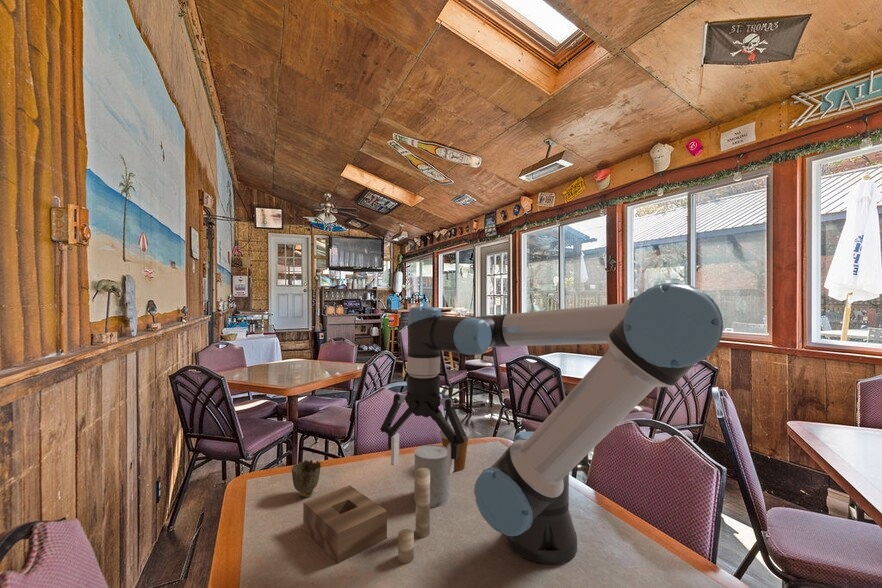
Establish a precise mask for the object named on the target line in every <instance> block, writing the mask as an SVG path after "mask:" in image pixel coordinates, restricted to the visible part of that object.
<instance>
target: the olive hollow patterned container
mask: <svg viewBox="0 0 882 588" xmlns="http://www.w3.org/2000/svg"><path fill="white" fill-rule="evenodd" d="M321 465H322V463H321V462H319V460H316V462H313V459H310V461H309V460H305V459H304V460H303V461H299V462H298V463H295V464H293V466H292V467H291V475H292V477H291V478H292V483H293V487H294V489H295V490H296V491H298V496H299V497H300V498H309V497H311V496H312V495H313V493H314V489H316V487H317V486H318V483H319V481H320V474H321V473H320V472H321Z"/></svg>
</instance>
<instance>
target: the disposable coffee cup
mask: <svg viewBox="0 0 882 588" xmlns="http://www.w3.org/2000/svg"><path fill="white" fill-rule="evenodd" d="M449 425H450V426H451V428H452V429H453V427H452V425H451V423H449ZM462 427H463V429H464V431H465V434H466V436H467V439H466V440H465V442H464V443H463V444H458V457H457V458H456V460H454V471H453V472H458V471H462V470H464V469H465V467H466V458H467V451H468V450H467V449H468V444H469V443H468V442H469V437H470V435H471V433H470V432H471V431H470V429H469V427H468V426H466V425H464V424H462ZM453 431H454V429H453ZM439 434H440V437H441V443H442V444H441V446H444V447H446V448H447V445H448V444H449V443H450V442H449V440H448V439H447V438H446V436H445V435H444V433H443V432H442V430H441V429H440V431H439Z"/></svg>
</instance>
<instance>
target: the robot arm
mask: <svg viewBox="0 0 882 588" xmlns="http://www.w3.org/2000/svg"><path fill="white" fill-rule="evenodd" d="M723 320H724V319H723V315H722V312H721V310H720V308H719V306H718V304H717V303H716V302H715V301H714V299H713V298H712V297H710V295H708V294H707V293H705V292H704V290H703V291H702V290H701V289H698V288H696V287H695V286H693V285H689V284H687V283H686V284H685V283H679V282H669V283H667V282H666V283H661V284H657V285H653V286H652V287H650V288H647V289H645V291H642V292H641V293H639V294H638V295H637V296H633V297H629V298H628V299H627V300H626V301H625V302H624V303H616V304H615V303H614V304H603V305H594V306H593V305H592V306H581V307H570V308H569V307H568V308H561V309H560V308H559V309H551V310H550V309H549V310H539V311H538V310H537V311H527V312H518V313H515V312H514V313H508V314H505V313H504V314H492V315H491V314H490V315H484V316H467V317H466V316H465V317H455V316H449V317H448V316H443V315H442V309H441V308H440V307H437V306H436V307H435V306H414V307H413V306H412V307H411V308H410V309H409V311H408V317H407V358H406V359H407V360H406V362H407V366H406V373H408V375H407V376H406V394H405V393H403V392H402V391H399V392H397V393H395V394H394V395H393V400H392V405H391V407H390V408H389V410H388V413H387V414H386V417H385V419H384V421H383V423H382V424H381V427H380V428H379V429H380V432H381V433H385V434H386V435H387V449H388V450H390V466H396V464H398V463H399V462H400V433H398V430H399V429H400V428H401V427H402V426H403V425H404V424H405V423H406V421H407V420H408V419H409V418H410V417H411V415H414V416H415V417H424V418H429V417H430V418H431V419H432V421H434V422H435V423H436V425H437V426H438V428H439V429H440V431H441V430H442V432H443V433H444V435H445V436H446V438H447V439H448V440H449V442H450V443H449V444H448V445H447V475H449V476H451V475H452V474H453V472H455V471H454V460H456V458H457V457H458V444H463V443H464V442H465V440H466V439H467V436H466V434H465V431H464V429H463V427H462V425H463V424H462V423H461V420H460V418H459V416H458V414H457V413H458V412H457V411H456V409H455V405H454V404H455V403H454V398H453V397H452V396H448V398H442V397H441V395H440V393H441V391H440V390H441V389H440V388H441V376H440V375H439V374H440V373H441V352H442V351H443V352H448V353H449V352H450V353H457V354H458V353H459V354H464V355H467V356H470V355H475V356H476V355H478V356H480V355H483V354H485V353H486V352H487V350H489V349H490V348H506V347H529V346H532V347H533V346H557V345H558V346H560V345H562V346H565V345H568V346H569V345H591V344H592V345H593V344H594V345H595V344H597V345H599V344H608V350H607V351H606V352H605V353H604V354H603V355H602V357H600V359H599V360H598V361H597V362H596V363H595V364H594V365H593V366H592V368H590V370H588V372H587V373H586V374H585V375H584V376H583V377H582V379H581V380H580V381H579V382H578V383H577V384H576V385H575V386H574V387H573V388H572V390H571V391H570V392H569V393H568V394H567V395H566V396H565V398H563V400H562V401H561V402H560V403H559V404H558V405H557V406H556V407H555V408H554V409H553V410H552V412H551V413H550V414H549V415H548V417H546V419H545V420H544V421H543V422H542V423H541V424H540V425H539V426H538V427H537V428H536V429H535V431H520V432H518V433H516V434H515V435H514V438H513V439H514V440H513V442H512V443H511V444H510V446H509V447H507V448H506V450H505V451H504V452H503V453H502V454H501V455H500V456H499V458H498V459H497V460H496V461H495V462H494V463H493V464H492V465H491V466H489V467H487V468H486V469H485V468H484V470H482V472H481V473H480V474H479V476H478V477H477V478H476V479H475V483H474V488H473V489H474V490H473V491H474V492H473V493H474V496H475V505H476V507H477V508H478V511H479V513H480V515H481V517H482V518H483V520H484V521H485V522H486V523H487V524H488V525H489V527H491V528H492V529H493V530H495V531H496V532H498V533H499V534H504V535H505V539H506V543H507V545H508V547H510V549H511V550H512V551H514V553H515V554H517V555H518V556H520V557H522V558H523V559H526V560H527V561H531V562H534V563H538V564H543V565H558V564H562V563H567V562H569V561H570V560H571V559H573V558H574V557H575V556H576V554H577V552H578V534H577V532H576V529H575V526H574V523H573V520H572V517H571V516H572V515H571V512H570V510H569V509H570V508H569V507H570V505H569V504H570V502H569V501H570V499H569V497H570V493H569V492H570V480H569V479H570V472H571V471H572V470H574V468H575V467H576V466H577V465H578V464H579V463H580V462H581V461H582V460H583V459H584V458H585V457H586V456H587V455H588V454H590V452H591V451H592V450H593V449H594V448H595V447H596V446H597V445H599V443H601V442H602V440H603V439H604V438H605V437H607V435H608V434H610V433H611V432H612V431H613V430H614V428H616V426H617V425H619V424H620V423H621V422H622V421H623V420H624V418H626V417H627V416H628V415H629V414H630V412H632V411H633V410H634V408H636V407H637V406H638V405H639V404H640V403H641V402H642V401H643V400H644V399H645V398H646V397H647V396H648V395H649V394H650V393H651V392H652V391H653V390H654V389H656V388H658V387H659V388H673V386H674V385H675V384H677V382H679V381H680V379H682V378H683V377H684V376H685V375H686V374H687V373H688V372H689V371H690V370H691V369H692V368H694V366H696V364H699V362H701V361H703V360H705V359H707V358H708V357H709V356H710V355H711V354H712V353H713V352H714V351H715V349H716V348H717V347H718V346H719V343H720V342H721V338H722V336H723V331H724V321H723ZM404 402H405V403H406V405H407V406H408V407H407V408H406V410H405V411H404V412H403V414H402V415H401V416H400V417H399V418H398V419H397V421H395V423H394V424H393V422H394V419H395V417H396V415H398V411H399V409H400V407H401V405H402V404H403V403H404ZM440 406H442V408H443V409H445V413H446V415H447V418H448V420H449V422H448V421H447V420H446V418H445V417H444V415H443V412H442V411H441V409H440V408H439V407H440ZM392 424H393V425H392ZM450 424H451V425H452V427H453V429H454V431H453V429H452V428H451V426H450Z"/></svg>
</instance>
